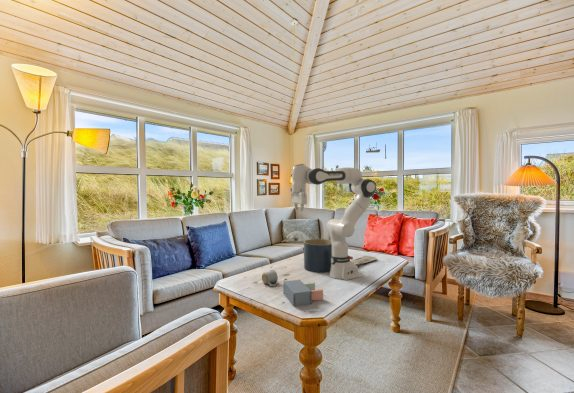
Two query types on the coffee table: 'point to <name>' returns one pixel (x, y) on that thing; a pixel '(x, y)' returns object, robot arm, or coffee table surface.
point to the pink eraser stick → (317, 294)
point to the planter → (317, 255)
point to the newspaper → (363, 260)
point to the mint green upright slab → (310, 285)
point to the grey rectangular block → (297, 292)
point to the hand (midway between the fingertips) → (298, 210)
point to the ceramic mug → (270, 278)
